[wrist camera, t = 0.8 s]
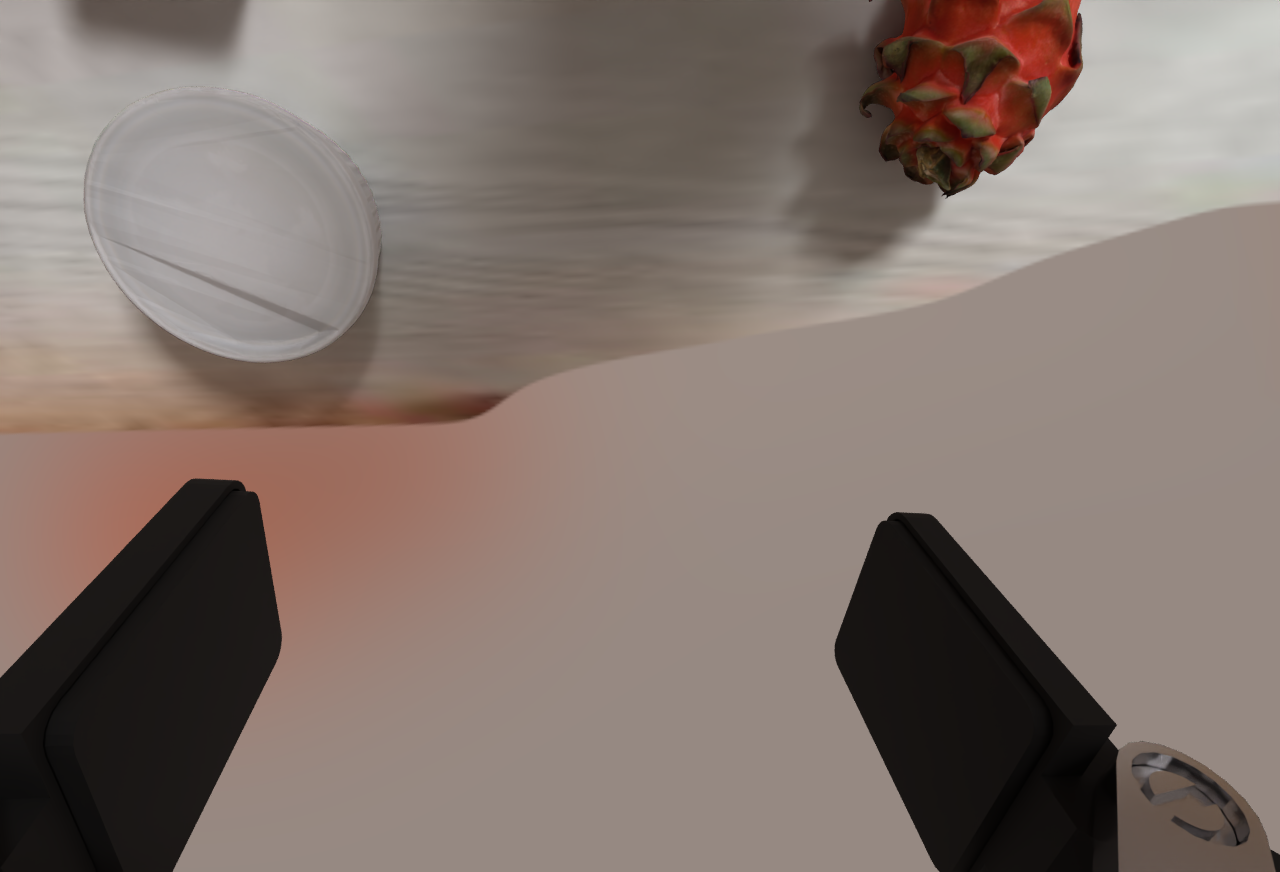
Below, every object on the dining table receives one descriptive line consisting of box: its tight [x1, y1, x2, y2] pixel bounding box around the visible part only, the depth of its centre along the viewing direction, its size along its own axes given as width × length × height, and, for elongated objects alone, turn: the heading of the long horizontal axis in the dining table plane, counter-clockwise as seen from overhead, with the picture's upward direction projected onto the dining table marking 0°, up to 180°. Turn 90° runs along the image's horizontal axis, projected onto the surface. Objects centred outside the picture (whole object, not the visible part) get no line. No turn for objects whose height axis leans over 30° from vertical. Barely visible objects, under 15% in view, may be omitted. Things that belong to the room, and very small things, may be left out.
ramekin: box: [84, 87, 382, 363], centre depth 29 cm, size 11×11×5 cm
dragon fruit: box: [859, 0, 1083, 198], centre depth 28 cm, size 8×8×12 cm
